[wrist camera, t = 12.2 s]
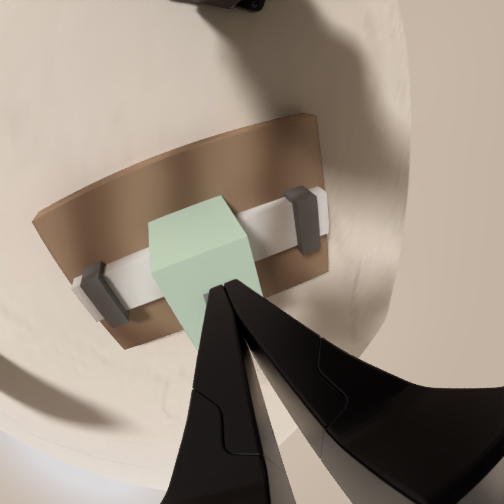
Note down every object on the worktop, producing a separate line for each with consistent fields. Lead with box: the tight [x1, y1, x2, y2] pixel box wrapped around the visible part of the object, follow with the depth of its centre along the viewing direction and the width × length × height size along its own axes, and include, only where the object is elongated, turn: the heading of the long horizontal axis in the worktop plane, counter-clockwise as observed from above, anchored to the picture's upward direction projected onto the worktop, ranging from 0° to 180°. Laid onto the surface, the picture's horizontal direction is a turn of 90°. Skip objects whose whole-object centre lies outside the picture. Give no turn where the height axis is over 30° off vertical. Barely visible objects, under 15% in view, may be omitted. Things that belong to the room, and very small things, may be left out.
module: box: [148, 195, 263, 350], centre depth 17 cm, size 5×7×6 cm
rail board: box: [32, 113, 329, 350], centre depth 19 cm, size 20×14×4 cm
